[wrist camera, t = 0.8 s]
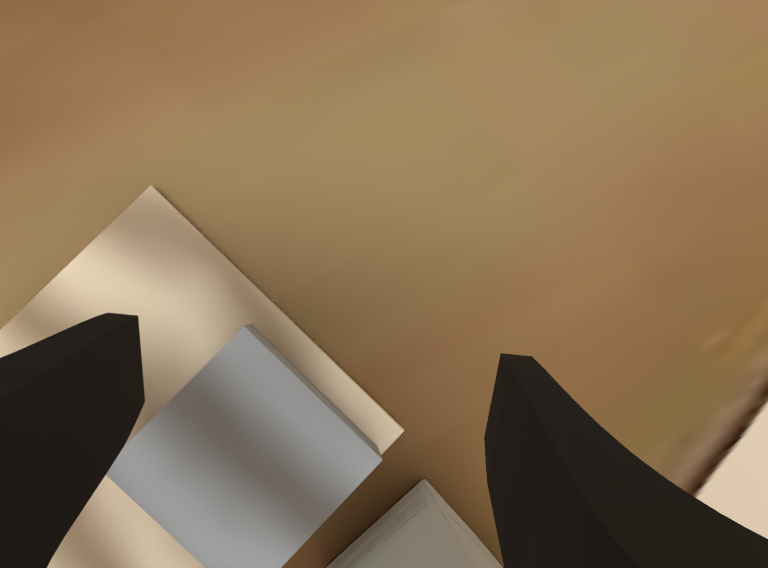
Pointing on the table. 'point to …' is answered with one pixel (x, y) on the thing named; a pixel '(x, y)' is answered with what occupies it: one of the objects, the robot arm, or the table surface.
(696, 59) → the table surface
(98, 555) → the base board
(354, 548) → the supplement box
